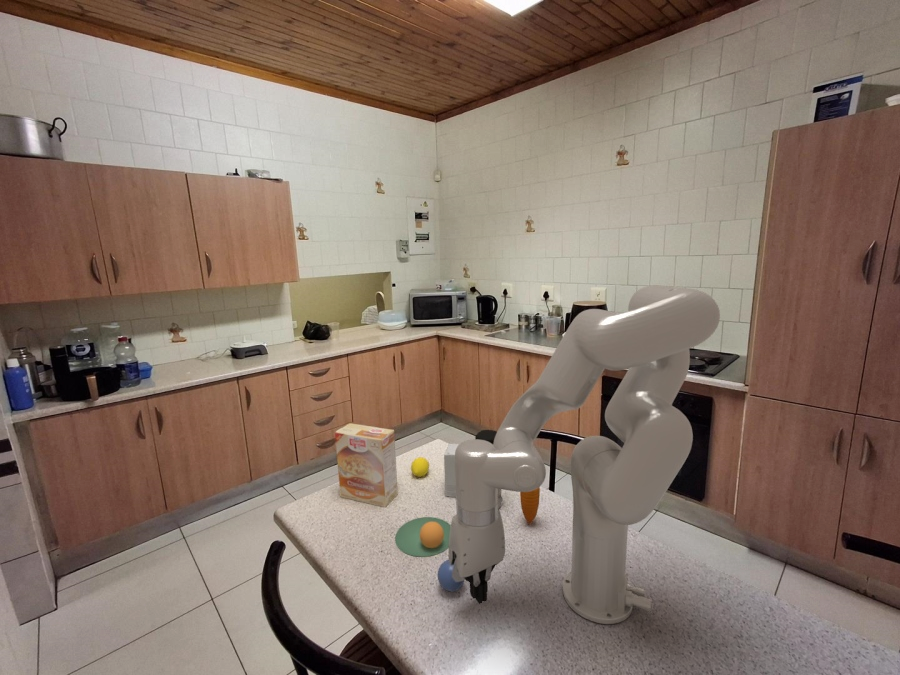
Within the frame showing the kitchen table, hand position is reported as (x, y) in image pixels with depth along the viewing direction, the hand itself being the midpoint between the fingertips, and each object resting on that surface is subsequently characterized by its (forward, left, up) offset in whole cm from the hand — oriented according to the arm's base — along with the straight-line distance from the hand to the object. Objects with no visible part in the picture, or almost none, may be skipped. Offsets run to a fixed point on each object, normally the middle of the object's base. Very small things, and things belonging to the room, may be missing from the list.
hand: (478, 597), depth 77 cm
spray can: (+10, -30, -2) cm, 32 cm away
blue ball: (+6, -1, +1) cm, 7 cm away
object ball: (+16, -10, +1) cm, 19 cm away
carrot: (-2, -27, -2) cm, 28 cm away
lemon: (+35, -36, -2) cm, 51 cm away
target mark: (+19, -12, -2) cm, 23 cm away
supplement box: (+20, -33, -2) cm, 39 cm away
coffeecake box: (+42, -20, -2) cm, 47 cm away
